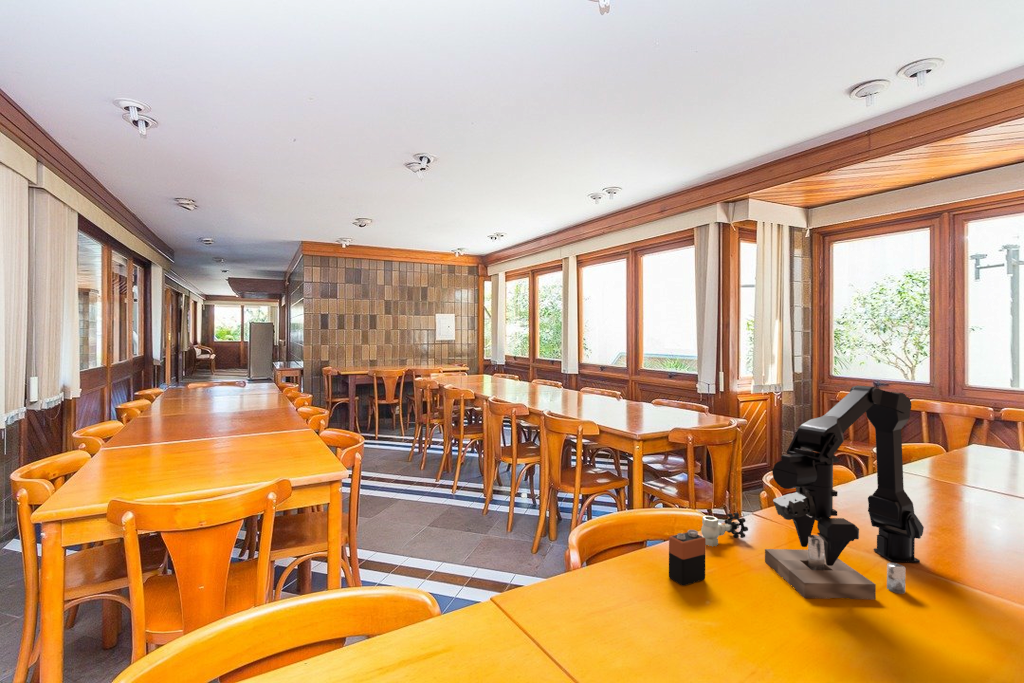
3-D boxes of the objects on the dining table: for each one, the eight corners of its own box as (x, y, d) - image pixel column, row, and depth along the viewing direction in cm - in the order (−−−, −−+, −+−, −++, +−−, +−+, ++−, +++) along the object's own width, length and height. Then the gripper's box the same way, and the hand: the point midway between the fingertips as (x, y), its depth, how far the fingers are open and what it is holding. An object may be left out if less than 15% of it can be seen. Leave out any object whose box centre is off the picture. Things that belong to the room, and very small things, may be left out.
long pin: (818, 576, 108) (819, 535, 108) (827, 582, 105) (827, 540, 105) (804, 575, 108) (805, 534, 108) (813, 582, 105) (813, 540, 105)
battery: (706, 580, 105) (706, 533, 105) (682, 587, 102) (683, 539, 102) (690, 571, 109) (691, 526, 109) (667, 578, 106) (667, 531, 106)
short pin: (897, 586, 103) (898, 562, 103) (908, 593, 100) (909, 569, 100) (883, 586, 104) (883, 562, 103) (894, 593, 101) (894, 569, 100)
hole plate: (825, 563, 114) (826, 550, 114) (875, 599, 98) (875, 584, 98) (764, 561, 114) (765, 549, 114) (804, 597, 98) (804, 582, 98)
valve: (714, 550, 121) (748, 542, 126) (715, 523, 121) (748, 516, 126) (693, 540, 126) (726, 533, 132) (694, 515, 126) (726, 508, 132)
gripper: (758, 471, 116) (757, 537, 116) (804, 496, 97) (803, 575, 97) (806, 472, 115) (805, 538, 116) (861, 497, 97) (860, 576, 97)
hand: (816, 555), depth 106 cm, fingers open, 9 cm apart
